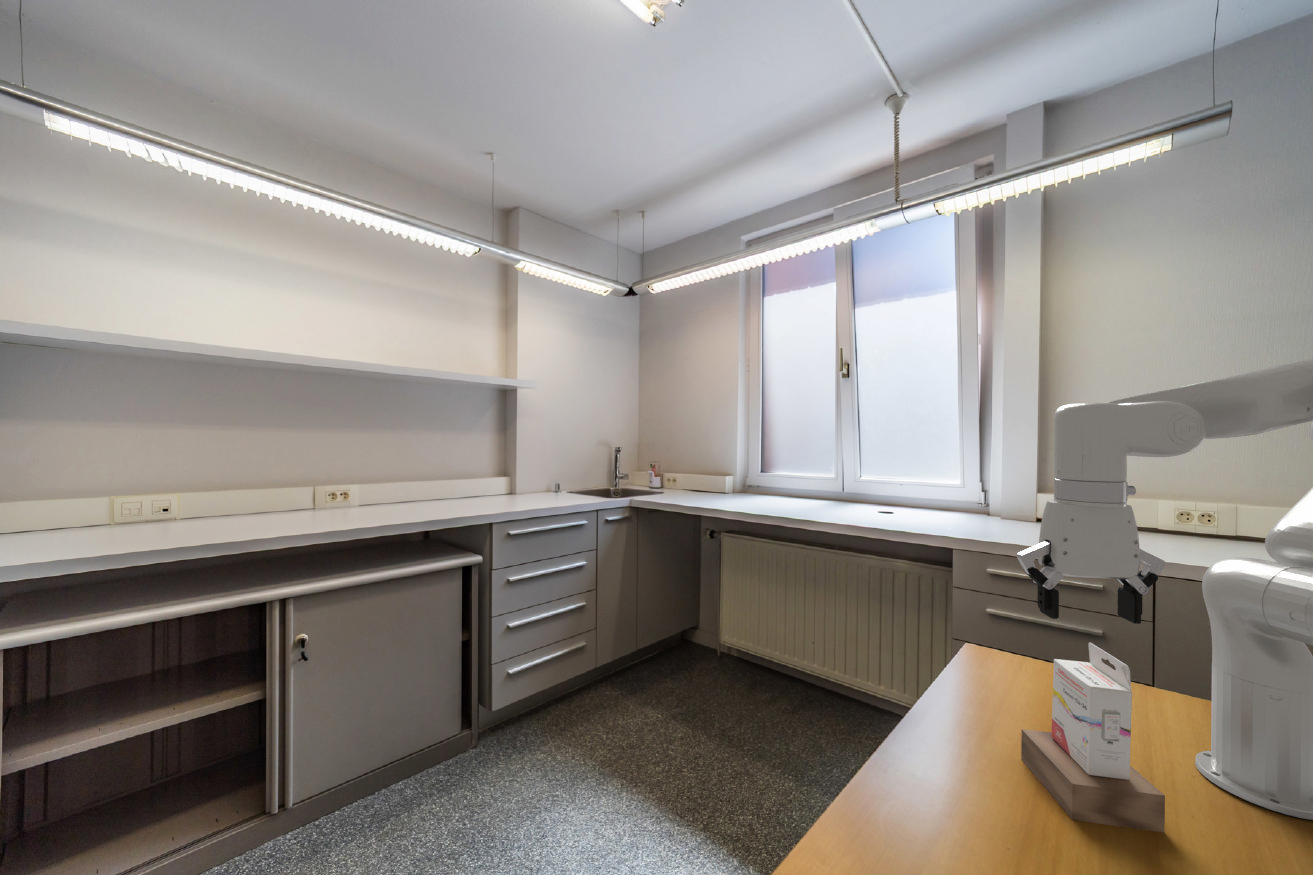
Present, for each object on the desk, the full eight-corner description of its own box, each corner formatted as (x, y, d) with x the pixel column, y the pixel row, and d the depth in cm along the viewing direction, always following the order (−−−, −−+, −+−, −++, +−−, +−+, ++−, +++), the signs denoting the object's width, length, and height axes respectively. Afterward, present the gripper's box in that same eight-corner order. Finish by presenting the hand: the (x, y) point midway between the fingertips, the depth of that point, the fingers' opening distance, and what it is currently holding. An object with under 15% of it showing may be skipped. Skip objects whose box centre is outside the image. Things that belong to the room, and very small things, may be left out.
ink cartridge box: (1048, 736, 72) (1051, 636, 72) (1087, 741, 71) (1090, 640, 71) (1087, 775, 64) (1091, 662, 64) (1132, 782, 63) (1135, 667, 63)
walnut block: (1097, 771, 72) (1097, 737, 72) (1164, 835, 61) (1164, 795, 61) (1021, 761, 74) (1021, 728, 74) (1071, 822, 63) (1072, 783, 63)
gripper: (1139, 491, 70) (1139, 612, 70) (1004, 489, 73) (1004, 604, 73) (1187, 498, 62) (1186, 633, 62) (1034, 494, 65) (1034, 623, 65)
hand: (1088, 617), depth 68 cm, fingers open, 9 cm apart
